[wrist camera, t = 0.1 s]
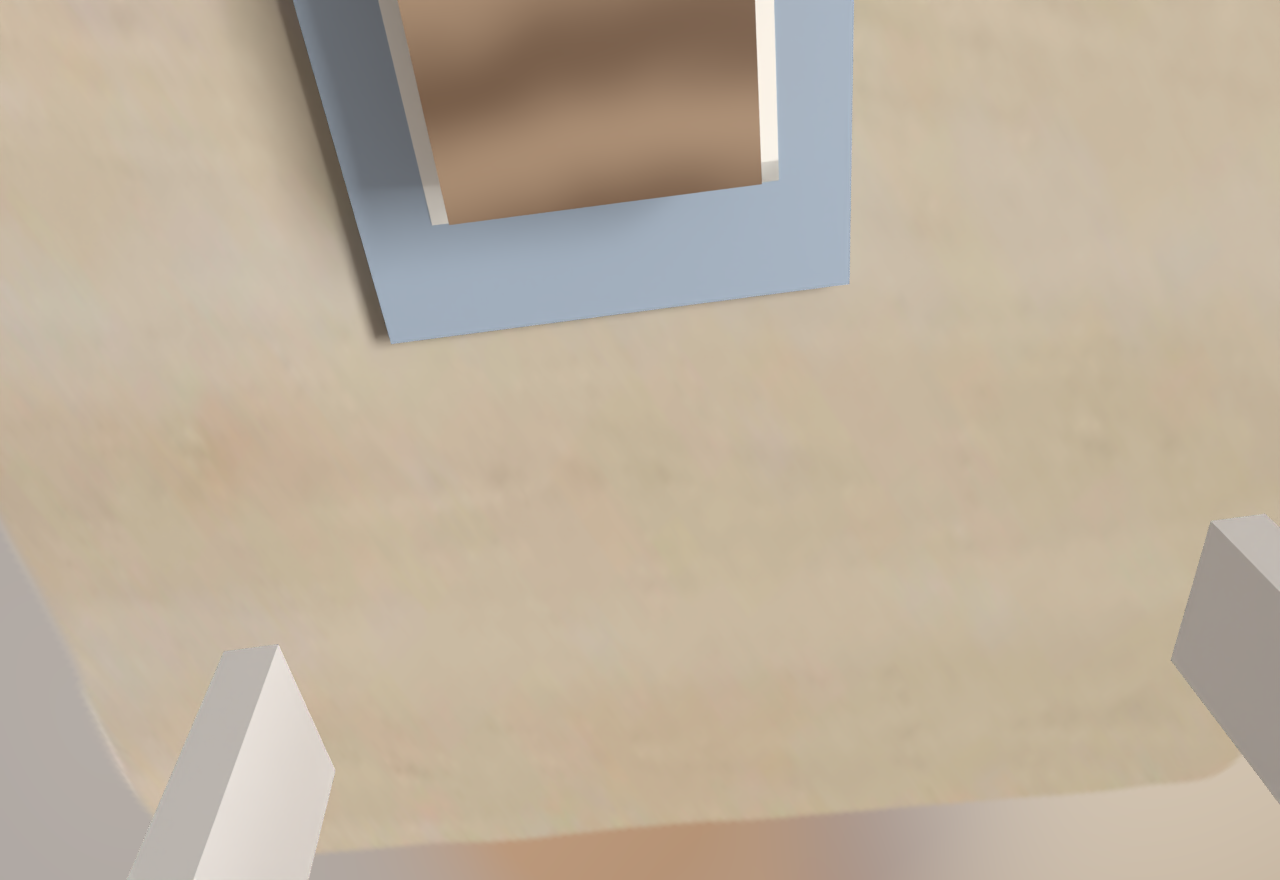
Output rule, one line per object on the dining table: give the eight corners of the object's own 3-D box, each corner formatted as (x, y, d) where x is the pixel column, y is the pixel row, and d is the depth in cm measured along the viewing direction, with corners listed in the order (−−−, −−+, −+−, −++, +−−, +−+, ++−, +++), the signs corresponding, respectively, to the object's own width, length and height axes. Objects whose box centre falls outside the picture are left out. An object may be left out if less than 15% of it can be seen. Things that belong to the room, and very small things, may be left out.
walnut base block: (390, -147, 30) (363, -148, 26) (721, -191, 30) (747, -198, 26) (462, 182, 36) (449, 225, 32) (738, 145, 36) (761, 184, 32)
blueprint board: (192, -383, 28) (180, -391, 27) (852, -469, 28) (861, -479, 27) (394, 333, 41) (391, 344, 40) (843, 275, 41) (849, 284, 40)
